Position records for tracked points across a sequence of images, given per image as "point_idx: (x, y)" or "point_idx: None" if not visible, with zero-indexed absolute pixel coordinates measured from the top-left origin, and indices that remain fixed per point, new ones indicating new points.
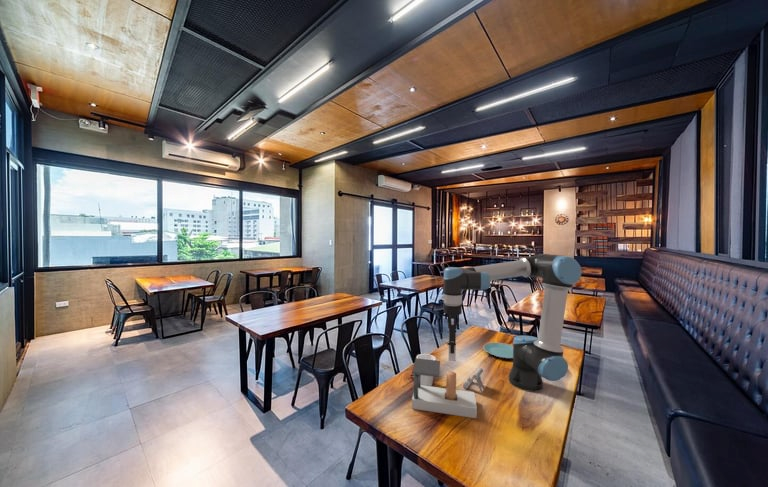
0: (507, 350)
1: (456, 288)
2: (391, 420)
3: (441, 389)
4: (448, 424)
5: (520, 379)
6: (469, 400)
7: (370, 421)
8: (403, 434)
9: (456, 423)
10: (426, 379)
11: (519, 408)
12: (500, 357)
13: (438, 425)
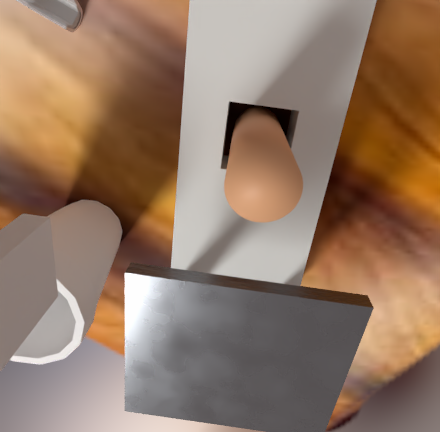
0: None
1: None
2: (358, 347)
3: (193, 183)
4: (395, 159)
5: None
6: (291, 33)
7: (360, 396)
8: (434, 315)
9: (391, 122)
10: (112, 248)
11: None
12: None
13: (398, 200)
